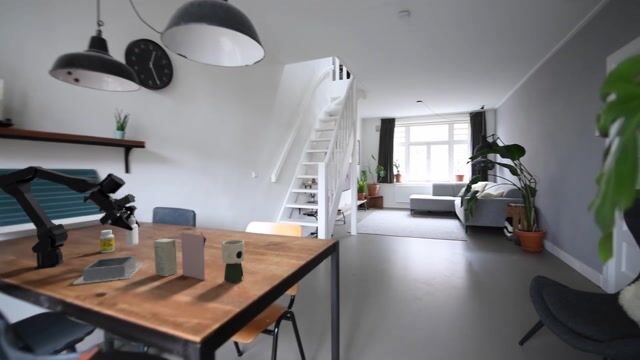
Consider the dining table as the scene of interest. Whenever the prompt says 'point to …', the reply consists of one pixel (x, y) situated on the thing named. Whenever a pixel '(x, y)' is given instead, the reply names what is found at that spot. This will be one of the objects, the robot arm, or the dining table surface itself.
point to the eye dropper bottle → (132, 233)
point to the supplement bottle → (107, 241)
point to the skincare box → (165, 257)
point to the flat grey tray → (109, 270)
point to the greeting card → (193, 255)
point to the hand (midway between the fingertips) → (135, 228)
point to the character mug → (233, 259)
